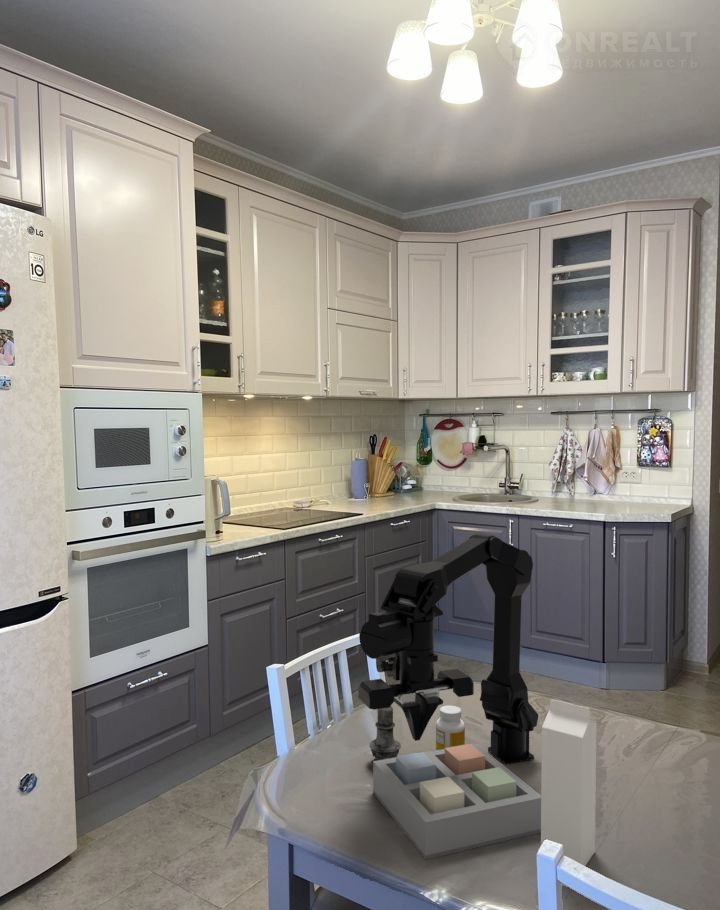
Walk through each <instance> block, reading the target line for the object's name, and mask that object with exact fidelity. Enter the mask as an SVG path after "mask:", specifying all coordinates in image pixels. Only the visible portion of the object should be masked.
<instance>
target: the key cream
mask: <svg viewBox="0 0 720 910" xmlns="http://www.w3.org/2000/svg"><path fill="white" fill-rule="evenodd" d="M420 803H421V804H422V805H423V806H424V808H425V809H426V810H427V811H428V812H429V813H430V814H436V813H441V812H445V811H450V810H455V809H460V808H464V791H463V790H462V789H461V788H460V787H459V786H458V785H457V784H456V783H455V782H454V781H453V780H452V779H450V778H449V777H444V778H439V779H434V780H428V781H423V782H420Z"/></svg>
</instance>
